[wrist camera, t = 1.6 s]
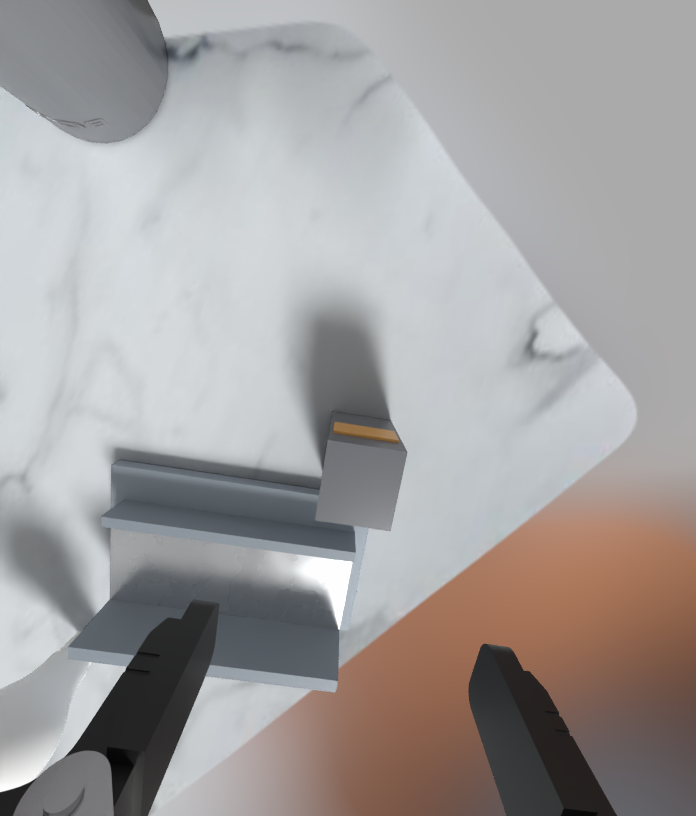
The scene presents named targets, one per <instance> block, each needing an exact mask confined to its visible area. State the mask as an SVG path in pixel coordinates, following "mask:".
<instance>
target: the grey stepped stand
mask: <svg viewBox="0 0 696 816" xmlns="http://www.w3.org/2000/svg"><path fill="white" fill-rule="evenodd" d="M319 492H320V489H313V488H306V487H299V486H293V485H286V484H279V483H273V482H266V481H259V480H252V479H246V478H239V477H232V476H225V475H219V474H212V473H205V472H199V471H192V470H185V469H178V468H172V467H165V466H158V465H151V464H145V463H138V462H131V461H125V460H119V461H117V462H115V463H114V464H112V465H111V509H110V510H109V511H108V512H106V513H105V514H104V515H102V516H101V527H105V528H112V529H119V530H126V531H134V532H141V533H148V534H155V535H162V536H169V537H176V538H183V539H191V540H198V541H205V542H212V543H219V544H226V545H233V546H240V547H248V548H255V549H262V550H269V551H276V552H283V553H290V554H297V555H305V556H312V557H319V558H326V559H333V560H340V561H347V562H352V565H351V570H350V576H349V581H348V586H347V591H346V597H345V602H344V607H343V612H342V618H341V623H340V628H339V629H340V630H349V625H350V620H351V615H352V610H353V605H354V600H355V595H356V590H357V584H358V579H359V574H360V569H361V564H362V559H363V554H364V549H365V544H366V539H367V534H368V529H369V528H365V527H358V526H351V525H344V524H337V523H330V522H323V521H316V520H315V517H316V511H317V504H318V498H319ZM185 611H186V610H184V609H177V608H169V607H162V606H154V605H147V604H139V603H131V602H124V601H116V600H109V601H108V602H107V603H106V604H105V606H104V607H103V608H102V609H101V610H100V611H99V612H98V614H97V615H96V616H95V617H94V618H93V619H92V620H91V621H90V623H89V624H88V625H87V626H86V627H85V628H84V629H83V630H82V632H81V633H80V634H79V635H78V636H77V637H76V638H75V639H74V641H73V642H72V643H71V644H70V645H69V646H68V659H70V660H79V661H87V662H95V663H103V664H111V665H119V666H128V665H129V663H130V662H131V660H132V659H133V657H134V656H136V654H137V651H138V649H139V648H140V646H141V645H142V643H143V642H144V640H145V639H146V637H147V636H148V634H149V633H150V632H151V631H152V630H153V629H154V628H156V627H157V626H158V625H159V624H160V623H162V622H163V621H164V620H165V619H166V618H168V617H169V618H176V619H181V618H182V616H183V615H184V613H185ZM338 657H339V630H336V629H329V628H321V627H313V626H306V625H298V624H291V623H283V622H275V621H268V620H260V619H253V618H245V617H238V616H230V615H222V614H219V615H218V624H217V632H216V641H215V647H214V652H213V656H212V659H211V662H210V666H209V668H208V671H207V673H206V676H207V677H215V678H223V679H232V680H240V681H248V682H256V683H264V684H272V685H280V686H288V687H296V688H304V689H312V690H320V691H328V692H336V688H337V683H338Z"/></svg>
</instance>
